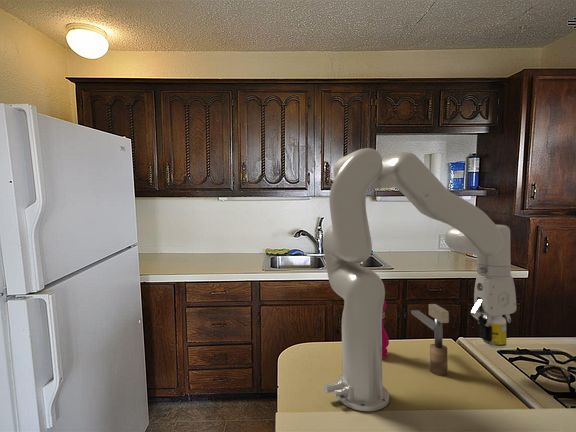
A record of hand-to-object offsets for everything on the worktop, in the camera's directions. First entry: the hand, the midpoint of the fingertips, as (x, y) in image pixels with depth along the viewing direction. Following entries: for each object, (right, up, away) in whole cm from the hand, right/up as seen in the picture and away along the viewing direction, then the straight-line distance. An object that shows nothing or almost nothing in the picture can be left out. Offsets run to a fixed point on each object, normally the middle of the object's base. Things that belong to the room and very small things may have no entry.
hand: (494, 337), depth 86 cm
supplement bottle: (0, -2, 0) cm, 2 cm away
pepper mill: (-28, -11, +14) cm, 33 cm away
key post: (-13, -11, +3) cm, 18 cm away
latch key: (-14, -3, +9) cm, 17 cm away
